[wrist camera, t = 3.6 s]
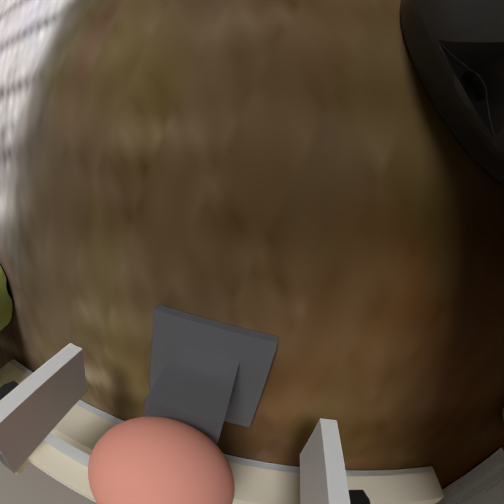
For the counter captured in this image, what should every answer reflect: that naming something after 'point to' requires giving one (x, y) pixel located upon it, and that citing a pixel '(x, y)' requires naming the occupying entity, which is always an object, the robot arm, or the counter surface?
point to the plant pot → (4, 301)
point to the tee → (206, 371)
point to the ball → (159, 465)
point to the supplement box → (479, 484)
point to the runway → (244, 470)
